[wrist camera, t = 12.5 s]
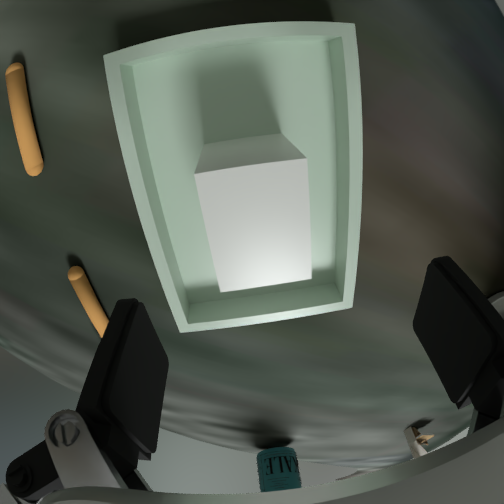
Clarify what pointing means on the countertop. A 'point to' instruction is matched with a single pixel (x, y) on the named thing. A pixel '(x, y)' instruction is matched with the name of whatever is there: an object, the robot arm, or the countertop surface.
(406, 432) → the architectural model
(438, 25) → the countertop surface
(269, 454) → the beverage bottle
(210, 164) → the pale grey cuboid
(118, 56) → the tray
